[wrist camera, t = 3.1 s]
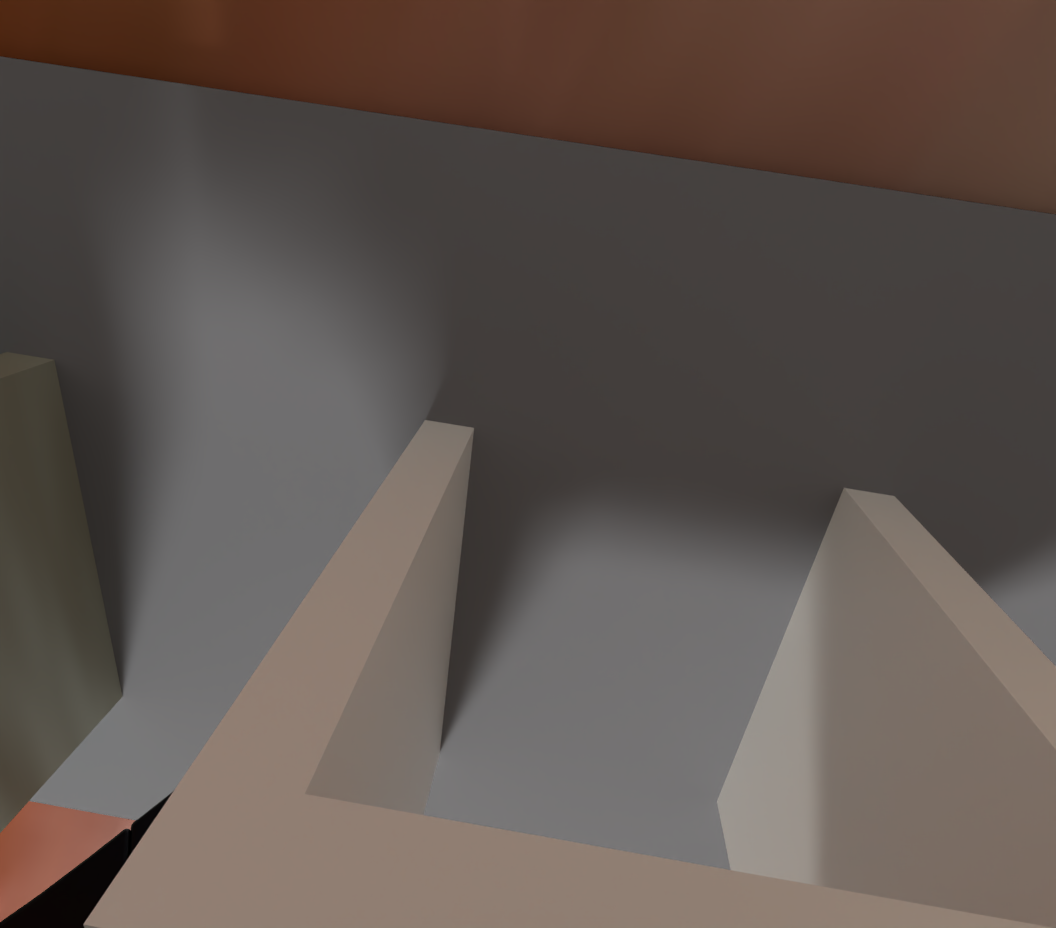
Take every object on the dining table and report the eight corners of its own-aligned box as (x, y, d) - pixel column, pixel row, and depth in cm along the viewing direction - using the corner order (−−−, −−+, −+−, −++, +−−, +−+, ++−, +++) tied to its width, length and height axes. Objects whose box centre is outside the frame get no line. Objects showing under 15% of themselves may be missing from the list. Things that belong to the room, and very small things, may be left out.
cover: (894, 495, 9) (1562, 1200, 3) (755, 807, 11) (927, 1479, 6) (425, 420, 9) (81, 925, 3) (402, 746, 12) (209, 1335, 6)
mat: (1319, 255, 7) (1358, 260, 7) (871, 934, 13) (879, 954, 13) (-761, -56, 8) (-826, -68, 8) (-286, 725, 14) (-310, 739, 14)
